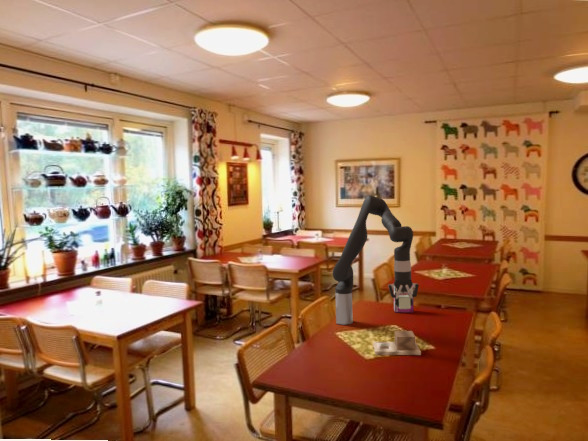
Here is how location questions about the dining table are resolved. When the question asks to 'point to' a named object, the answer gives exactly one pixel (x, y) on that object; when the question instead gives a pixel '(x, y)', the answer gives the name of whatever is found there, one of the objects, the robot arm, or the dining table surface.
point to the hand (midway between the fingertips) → (404, 305)
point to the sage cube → (404, 302)
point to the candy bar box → (404, 309)
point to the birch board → (393, 349)
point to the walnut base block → (404, 340)
